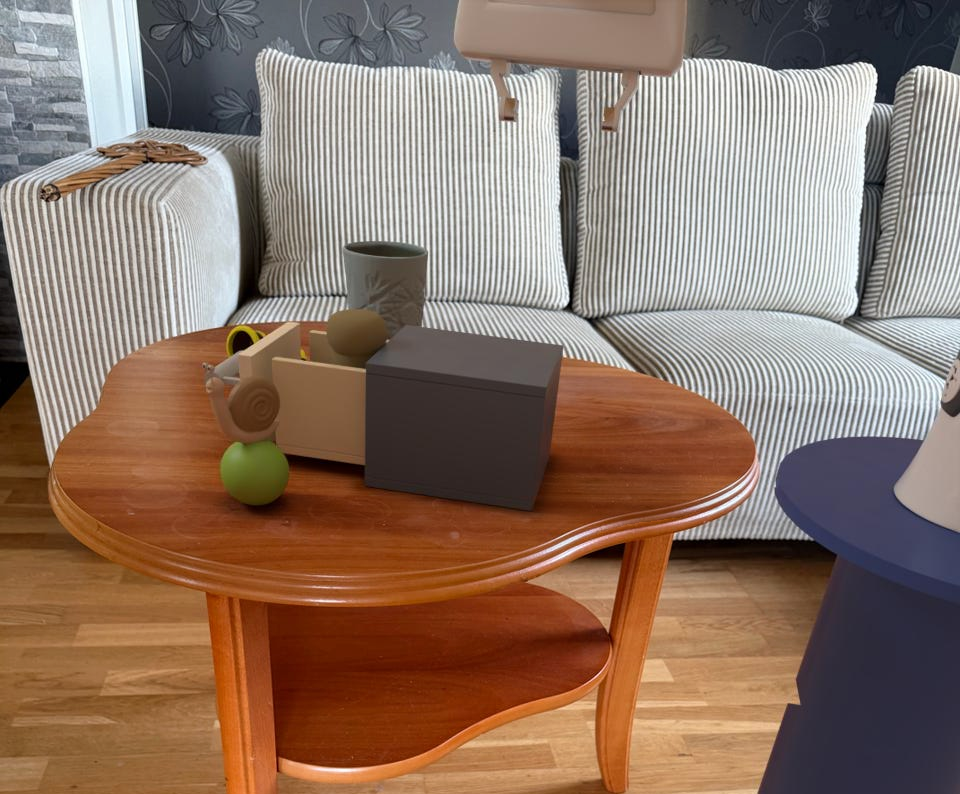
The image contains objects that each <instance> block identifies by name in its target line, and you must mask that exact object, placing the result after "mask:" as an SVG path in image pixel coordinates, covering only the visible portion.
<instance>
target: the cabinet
mask: <svg viewBox="0 0 960 794" xmlns="http://www.w3.org/2000/svg"><path fill="white" fill-rule="evenodd" d="M563 353H564V345H563V344H555V343H548V342H547V343H546V342H540V341H533V340H524V339H518V338H511V337H510V338H509V337H503V336H494V335H486V334H481V333H480V334H478V333H473V332H471V333H470V332H465V331H464V332H463V331H457V330H448V329H441V328H433V327H427V326H422V327H418V326H411V325H405V326H404V327H403V328H402V329H401V330H400V331H399V332H398V333H397V334H396V335H395V336H394V337H392V338H391V339H390V340H389V341H388V342H387V343H386V344H385V345H384V346H383V347H382V348H381V349H380V350H379V351H378V352H377V353H376V354H375V355H374V356H373V357H372V358H370V359H369V360H368V361H367V362H366V397H365V465H364V486H365V487H369V488H375V489H382V490H389V491H394V492H395V491H396V492H402V493H409V494H414V495H415V494H416V495H422V496H427V497H436V498H442V499H448V500H454V501H460V502H468V503H473V504H474V503H475V504H480V505H486V506H488V505H489V506H496V507H501V508H508V509H513V510H521V511H527V512H532V511H533V509H534V506H535V502H536V499H537V496H538V493H539V490H540V486H541V484H542V481H543V478H544V475H545V471H546V469H547V466H548V462H549V460H550V457H551V447H552V441H553V432H554V431H553V430H554V423H555V416H556V410H557V409H556V408H557V400H558V393H559V387H560V386H559V385H560V377H561V371H562V370H561V369H562V362H563Z"/></svg>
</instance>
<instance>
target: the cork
mask: <svg viewBox="0 0 960 794" xmlns="http://www.w3.org/2000/svg"><path fill="white" fill-rule="evenodd" d="M325 332H327V339H328V343H329V345H330V346H331V348H332V349H333V350H334V357H333V365H340V366H347V367H354V368H362V369H366V362H367V361H368V360H369V359H370V358H372V357H373V356H374V355H375V354H376V353H377V352H378V351H379V350H380V349H381V348H382V347H383V346H384V345H385V344H386V340H387V326H386V322H385V321H384V319H383V317H382V316H381V315H379V314H378V313H376V312H373V311H368V310H363V309H348V308H347V309H344V310H339V311H338V310H337V311H336V312H334V313H332V314H331V315H330V316H329V318H328V320H327V324H326V330H325Z"/></svg>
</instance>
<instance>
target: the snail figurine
mask: <svg viewBox="0 0 960 794" xmlns="http://www.w3.org/2000/svg"><path fill="white" fill-rule="evenodd" d="M201 367H202V369H203V370H204V371H205V372H204V373H205V374H206V373H207V372H208V371H209V372H210V373H211V378H210V379H209V380H208V378H207V374H206V379H207V383H206V384H205V391H206V393H207V395H208V396H209V400H210V404H211V409H212V412H213V415H214V418H215V420H216V423H217V425H218V427H219V429H220V431H221V432H222V433H223V435H224V436H225V437H226V438H228V439H229V440H231V441H234V442H233V443H232V444H231V445H230V446H228V448H227V449H226V450H225V452H224V453H223V455H222V458H221V461H220V464H219V465H220V468H219V475H220V479H221V482H222V484H223V486H224V489H225V490H226V491H227V492H228V493H229V495H230V496H231V497H232V498H233V499H235V500H237V501H238V502H240V503H242V504H246V505H249V506H263V505H267V504H270V503H272V502H274V501H275V500H278V498H280V497H281V495H282V494H283V493H284V492H285V490H286V488H287V486H288V483H289V480H290V466H289V461H288V459H287V456H285V453H283V452H282V451H281V450H280V449H279V448H278V447H277V446H276V443H274V442H273V443H272V442H270V441H268V440H266V439H267V438H269V437H270V436H271V435H272V434H273V433H274V432H275V430H276V428H277V427H278V424H279V421H278V420H275V419H276V417H277V415H278V412H279V408H280V397H279V393H278V391H277V389H276V387H275V386H274V384H273V383H272V382H270V381H269V380H268V379H266V378H264V377H260V376H250V377H247V378H245V379H243V380H241V381H240V382H238V383H237V384H236V385H235V386H233V388H232V389H231V391H230V392H229V394H228V397H227V399H226V397H225V396H226V395H225V390H226V385H224V383H223V381H222V380H221V379H219V378H215V377H214V378H212V372H214V370H215V367H216V366H214V365H213V364H209V362H206V361H205V362H202V364H201Z"/></svg>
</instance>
